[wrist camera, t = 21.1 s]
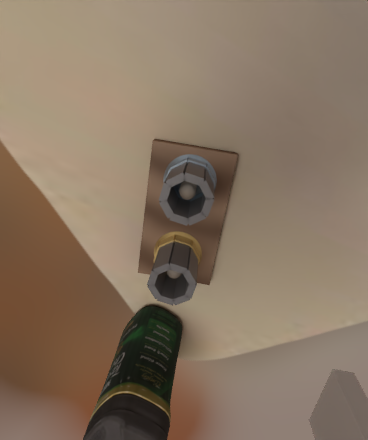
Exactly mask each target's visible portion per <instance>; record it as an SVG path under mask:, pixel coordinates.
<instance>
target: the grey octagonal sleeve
mask: <svg viewBox="0 0 368 440" xmlns="http://www.w3.org/2000/svg"><path fill="white" fill-rule="evenodd" d="M183 181H187V182H190V183H193V184H196V185H199V186H200V188H201V190H202V193H200V194H198V195H196V196H194V197H193V198H192V199H190V200H185V199H183V198H182V197H181V196H180V194H179V191H178V189H177V187H176V185H177V184H179V183H181V182H183ZM215 185H216V184H215V178H214V176H213V174H212V172H211V170H210V168H209V166H208V164H206V162H203V161H200V160H197V159H194V158H191V157H189V159H188V157H187V158H185V159H183V160H181V161H179V162H177V163H175V164H173V165H171V166H170V168H169V171H168V174H167V177H166V180H165V182H164V184H163V187H162V191H161V194H160V197H159V204H160V206H161V207H162V209H163V211H164V213H165V215H166V216H167V218H170V220H171V221H174V222H177V223H180V224H183V225H186V226H187V225H188V224H189V226H190V225H192V224H195V223H197V222H199V221H201V220H204V219H206V216H207V217H208V215H209V213H210V210H211V207H212V205H213V202H214V188H215Z"/></svg>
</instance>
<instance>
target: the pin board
mask: <svg viewBox="0 0 368 440" xmlns="http://www.w3.org/2000/svg"><path fill="white" fill-rule="evenodd" d="M187 157H188V159H189V157H191V158H194V159H197V160H200V161H203V162H206V164H208V166H209V168H210V170H211V172H212V174H213V176H214V178H215V184H216V185H215V188H214V202H213V205H212V207H211V210H210V213H209V215H208V217H207V216H206V219H204V220H201V221H199V222H197V223H195V224H192V225H190V226H189V224H188V225H187V226H186V225H183V224H180V223H177V222H174V221H171V220H170V218H167V216H166V215H165V213H164V211H163V209H162V207H161V206H160V204H159V197H160V194H161V191H162V187H163V184H164V182H165V180H166V177H167V174H168V171H169V168H170V166H171V165H173V164H175V163H177V162H179V161H181V160H183V159H185V158H187ZM237 158H238V154H237V153H235V152H229V151H223V150H217V149H211V148H205V147H199V146H193V145H188V144H182V143H176V142H170V141H164V140H158V139H154V140H153V144H152V153H151V162H150V170H149V179H148V188H147V197H146V206H145V215H144V223H143V232H142V241H141V250H140V259H139V268H138V273H144V274H151V271H152V268H153V265H154V261H153V260H154V257H155V254H156V251H157V248H158V245H159V242H160V241H161V240H163V239H166V238H168V237H170V236H172V235H175V236H176V234H177V235H180V236H183V237H186V238H189V239H192V241H194V243H195V245H196V247H197V249H198V250H199V252H200V262H199V264H198V270H197V283H201V284H207V285H209V284H210V280H211V275H212V271H213V266H214V262H215V257H216V253H217V248H218V244H219V239H220V235H221V230H222V226H223V221H224V217H225V212H226V208H227V203H228V199H229V194H230V190H231V185H232V181H233V176H234V172H235V167H236V163H237ZM176 187H177V189H178V191H179V194H180V196H181V197H182V198H183V199H185V200H190V199H192V198H193V197H194V196H196V195H198V194H200V193H202V190H201V188H200V186H199V185H196V184H193V183H190V182H187V181H183V182H181V183H179V184H177V185H176ZM167 274H168V276H169V277H171V278H178V277H179V276H180V275H181V273H179V272H176V271H173V270H168V271H167Z"/></svg>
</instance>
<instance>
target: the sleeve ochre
mask: <svg viewBox="0 0 368 440" xmlns="http://www.w3.org/2000/svg"><path fill="white" fill-rule="evenodd" d="M153 261H154V265H153V268H152V271H151V274H150V277H149V280H148V284H147V285H148V286H147V287H148V288H149V290H150V291H151V293H152V294H153V296H154V298H155V299H157V301H161V302H164V303H167V304H170V305H173V304H174V305H177V304H180V303H183V302H185V301H188V300H190V298H192V295H193V293H194V290H195V288H196V285H197V270H198V264H199V262H200V252H199V250H198V249H197V247H196V245H195V243H194V241H192V239H189V238H186V237H183V236H180V235H177V234H176V236H175V235H172V236H170V237H168V238H166V239H163V240H161V241H160V242H159V245H158V248H157V251H156V254H155V257H154V260H153ZM168 270H173V271H176V272H179V273H181V275H180V276H179V277H178V278H171V277H169V276H168V274H167V271H168Z"/></svg>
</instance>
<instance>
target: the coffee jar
mask: <svg viewBox="0 0 368 440" xmlns="http://www.w3.org/2000/svg"><path fill="white" fill-rule="evenodd" d="M181 336H182V325H181V323H180V321H179V320H178V319H177V318H176V317H175V316H173V315H172V314H171V313H169V312H168V311H166V310H164V309H162V308H159V307H155V306H148V307H144V308H143V309H141V310H140V311H139V312H138V313H137V314H136V315H135V316H134V317H133V318H132V319H131V320H130V321H129V323H128V324H127V326H126V327H125V329H124V331H123V334H122V336H121V339H120V342H119V345H118V348H117V351H116V354H115V357H114V360H113V362H112V365H111V368H110V371H109V373H108V376H107V379H106V381H105V384H104V387H103V390H102V392H101V395H100V397H99V399H98V402H97V404H96V406H95V409H94V411H93V414H92V416H91V419H90V422H89V425H88V427H87V430H86V433H85V435H84V438H83V440H167V436H168V432H169V427H170V417H171V415H170V399H171V392H172V386H173V380H174V374H175V368H176V362H177V357H178V352H179V347H180V342H181Z"/></svg>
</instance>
